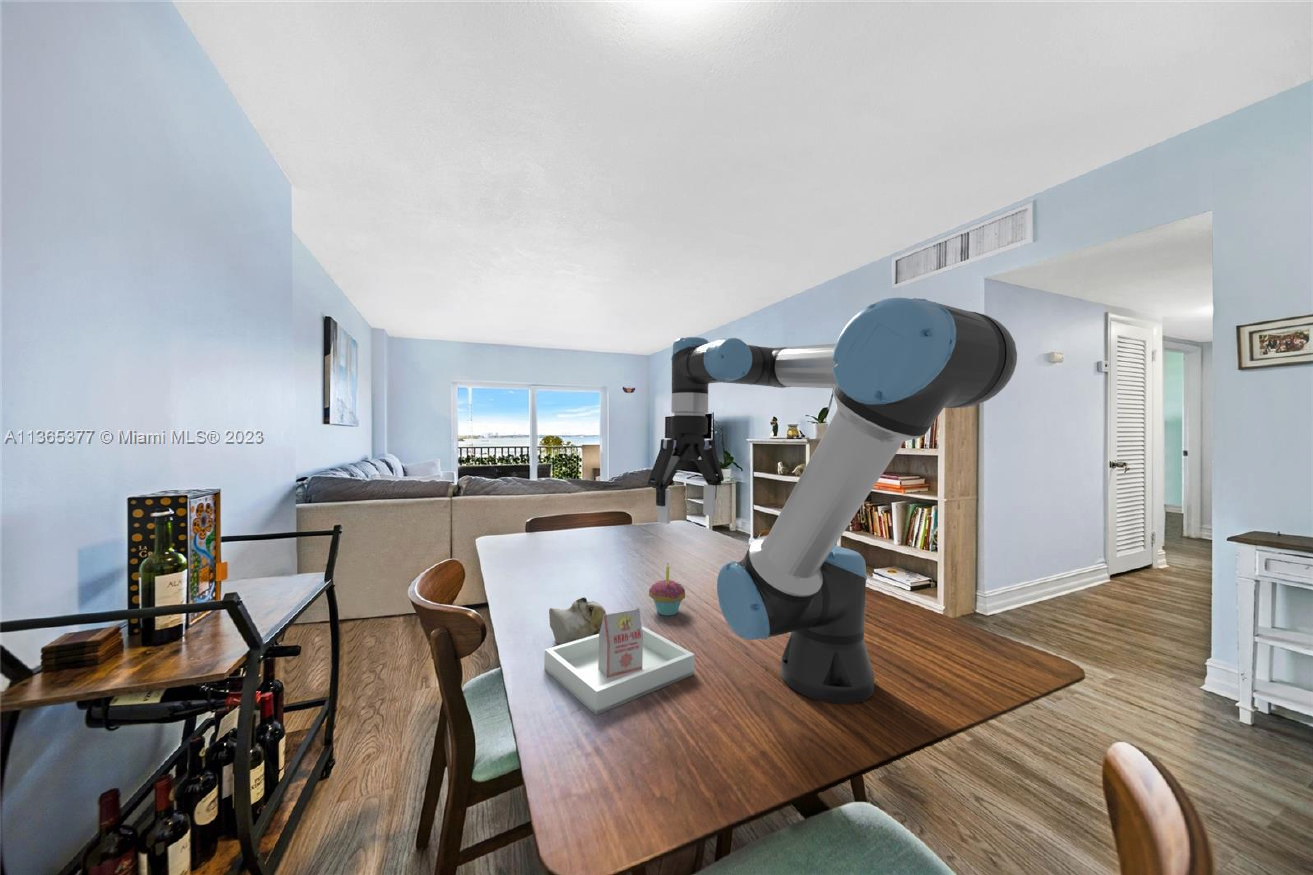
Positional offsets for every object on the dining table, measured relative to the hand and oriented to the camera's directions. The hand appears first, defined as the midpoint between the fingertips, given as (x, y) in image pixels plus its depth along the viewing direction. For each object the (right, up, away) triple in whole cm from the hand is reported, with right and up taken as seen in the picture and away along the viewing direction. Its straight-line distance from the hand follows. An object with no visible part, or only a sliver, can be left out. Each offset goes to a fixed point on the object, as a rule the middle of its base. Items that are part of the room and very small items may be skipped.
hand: (687, 519), depth 99 cm
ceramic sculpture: (-21, -24, -1) cm, 32 cm away
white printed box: (-13, -24, -14) cm, 31 cm away
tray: (-13, -24, -15) cm, 31 cm away
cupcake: (-4, -24, +14) cm, 28 cm away
